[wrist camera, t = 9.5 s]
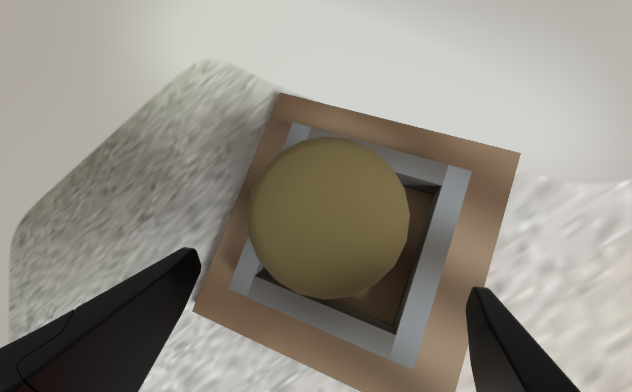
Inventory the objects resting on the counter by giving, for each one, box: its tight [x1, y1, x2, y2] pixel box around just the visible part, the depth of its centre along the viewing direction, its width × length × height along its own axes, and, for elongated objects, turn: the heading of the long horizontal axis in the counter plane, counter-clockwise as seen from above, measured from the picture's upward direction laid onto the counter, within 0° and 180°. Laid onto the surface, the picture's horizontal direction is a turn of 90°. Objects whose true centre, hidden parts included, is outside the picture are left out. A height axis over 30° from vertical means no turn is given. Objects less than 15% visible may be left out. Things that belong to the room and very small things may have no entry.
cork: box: [247, 136, 410, 300], centre depth 14 cm, size 6×6×11 cm
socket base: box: [192, 93, 520, 392], centre depth 18 cm, size 16×16×4 cm
